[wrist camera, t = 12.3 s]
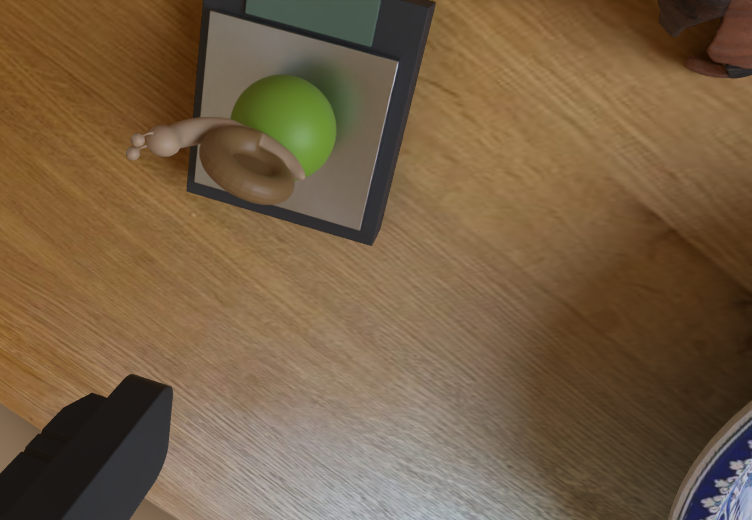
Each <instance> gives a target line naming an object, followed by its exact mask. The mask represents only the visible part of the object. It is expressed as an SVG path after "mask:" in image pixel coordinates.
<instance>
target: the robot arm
mask: <svg viewBox="0 0 752 520" xmlns="http://www.w3.org/2000/svg"><path fill="white" fill-rule="evenodd" d="M172 399H173V390H172V387H171V386H168V385H165V384H162V383H159V382H156V381H153V380H150V379H147V378H143V377H140V376H137V375H134V374H130V375H128V376H127V377H126V378H125V379H124V380H123V381H122V382H121V383H120V384H119V385H118V386H117V387H116V389H115V390H114V391H113V392H112V393H111V394H110V395H109V396H108V398H106V397H103V396H100V395H97V394H94V393H90V394H89V395H87V396H85V397H83V398H81V399H79V400H77V401H75V402H73V403H71V404H70V405H68V406H66V407H64V408H63V409H62V410H61V411H60V412H59V413H58V414H57V415H56V416H55V417H54V418H53V419H52V420H51V421H50V422H49V423H48V424H47V425H46V426H45V427H44V428H43V430H42V433H41V434H38V435H37V436H36V437H35V438H34V439H33V440H32V441H31V442H30V443H29V444H28V445H27V446H26V448H25V450H24V452H21V453H19V455H18V456H17V457H16V458H15V459H14V460H13V461H12V462H11V463H10V464H9V465H8V466H7V467H6V468H5V469H4V470H3V471H2V472H1V473H0V520H129V519H130V518H131V516H132V515H133V514H134V512H135V511H136V509H137V508H138V506H139V505H140V503H141V502H142V500H143V499H144V497H145V496H146V494H147V493H148V491H149V490H150V488H151V487H152V485H153V484H154V482H155V481H156V479H157V477H158V475H159V473H160V471H161V469H162V466H163V464H164V461H165V458H166V455H167V450H168V443H169V432H170V421H171V410H172Z"/></svg>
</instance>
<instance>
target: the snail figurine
mask: <svg viewBox="0 0 752 520" xmlns="http://www.w3.org/2000/svg"><path fill="white" fill-rule="evenodd" d="M144 136H145V138H144ZM335 139H336V120H335V116H334V112H333V110H332V107H331V105H330V103H329V101H328V100H327V98H326V97H325V96H324V94H323V93H322V92H321V91H320V90H319V89H318V88H317V87H315V86H314V85H313V84H311V83H310V82H308V81H306V80H304V79H302V78H299V77H296V76H291V75H272V76H268V77H265V78H262V79H260V80H258V81H256V82H254V83H253V84H251V85H250V86H249V87H247V88H246V89H245V90H244V91H243V92H242V94H241V95H240V96H239V98H238V99H237V101H236V103H235V105H234V107H233V110H232V113H231V118H230V119H227V118H222V117H198V118H191V119H186V120H182V121H178V122H176V123H173V124H171V125H157V126H155V127H153V128H151V129H149V130H148V131H147V133H146V134H144V135H142V134H140V133H135V134H134V135H133V136H132V138H131V143H132V144H133V145H134V146H136V147H140V146H142V145H143V144H144V142H145V141H146V145H144V146H142V147H140V148H138V149H137V148H136V147H130V148H129V149H128V150H127V152H126V156H127V158H128V159H130V160H136V159H138V158H139V156H140V152H139V150H140V149H142V148H145V147H148V148H149V150H150V151H151V152H153V153H154V154H156V155H158V156H162V157H168V156H172V155H174V154H176V153H177V152H178V151H179V149H180V148H185V147H190V146H195V145H198V144H200V148H199V157H200V160H201V163H202V166H203V168H204V170H205V171H206V173H207V174H208V175H209V177H210V178H211V179H212V180H213V181H214V182H215V183H217V184H218V185H219V186H220V187H221V188H223V189H224V190H226V191H227V192H229V193H230V194H232V195H234V196H236V197H238V198H240V199H243V200H245V201H248V202H252V203H256V204H262V205H274V204H279V203H281V202H284V201H286V200H287V199H288V198H289V197H290V196H291V195H292V193H293V190H294V187H295V182H294V181H298V180H304V179H305V178H306V177H308V176H310V175H312V174H313V173H315V172H316V171H317V170H318V169H320V168H321V167H322V166H323V164H324V163H325V162H326V161H327V159H328V158H329V156H330V154H331V152H332V150H333V147H334V144H335Z"/></svg>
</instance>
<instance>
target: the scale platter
mask: <svg viewBox="0 0 752 520" xmlns="http://www.w3.org/2000/svg"><path fill="white" fill-rule="evenodd" d="M400 63H401V59H399V58H396V57H392V56H388V55H385V54H381V53H377V52H373V51H370V50H366V49H362V48H359V47H355V46H351V45H348V44H344V43H340V42H337V41H333V40H329V39H326V38H322V37H318V36H314V35H311V34H307V33H303V32H300V31H296V30H292V29H289V28H285V27H281V26H278V25H274V24H270V23H267V22H263V21H259V20H255V19H252V18H248V17H244V16H241V15H237V14H233V13H230V12H226V11H222V10H219V9H214V10H211V11H210V18H209V29H208V39H207V50H206V61H205V72H204V83H203V93H202V104H201V115H200V117H222V118H227V119H230V118H231V113H232V110H233V107H234V105H235V103H236V101H237V99H238V98H239V96H240V95H241V94H242V92H243V91H244V90H245V89H246V88H247V87H249V86H250V85H251V84H253V83H254V82H256V81H258V80H260V79H262V78H265V77H268V76H272V75H291V76H296V77H299V78H302V79H304V80H306V81H308V82H310V83H311V84H313V85H314V86H315V87H317V88H318V89H319V90H320V91H321V92H322V93H323V94H324V96H325V97H326V98H327V100H328V101H329V103H330V105H331V107H332V110H333V112H334V116H335V120H336V139H335V144H334V147H333V150H332V152H331V154H330V156H329V158H328V159H327V161H326V162H325V163H324V164H323V166H322V167H321V168H320V169H318V170H317V171H316V172H315V173H313V174H312V175H310V176H308V177H306V178H305V179H304V180H298V181H294V182H295V187H294V190H293V193H292V195H291V196H290V197H289V198H288V199H287V200H286V201H284V202H281V203H279V204H274V206H278V207H281V208H284V209H288V210H291V211H295V212H298V213H301V214H305V215H308V216H312V217H315V218H319V219H322V220H325V221H329V222H332V223H336V224H339V225H342V226H346V227H349V228H353V229H356V230H361V228H362V226H363V223H364V219H365V214H366V210H367V206H368V201H369V197H370V193H371V188H372V184H373V180H374V175H375V171H376V167H377V163H378V158H379V154H380V150H381V145H382V141H383V137H384V132H385V128H386V124H387V119H388V115H389V111H390V106H391V102H392V98H393V93H394V89H395V85H396V80H397V76H398V72H399V67H400ZM199 148H200V144H198V147H197V158H196V169H195V180H194V182H196V183H199V184H203V185H206V186H210V187H213V188H216V189H220V190H223V191H226V190H224V189H223V188H221V187H220V186H219V185H218V184H217V183H215V182H214V181H213V180H212V179H211V178H210V177H209V175H208V174H207V173H206V171H205V170H204V168H203V166H202V163H201V160H200V157H199Z"/></svg>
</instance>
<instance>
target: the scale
mask: <svg viewBox="0 0 752 520" xmlns="http://www.w3.org/2000/svg"><path fill="white" fill-rule="evenodd" d="M435 4H436V2H433V1H429V0H203V8H202V20H201V31H200V43H199V54H198V66H197V77H196V89H195V100H194V112H193V118H198V117H200V115H201V104H202V93H203V83H204V72H205V61H206V50H207V39H208V29H209V18H210V11H211V10H214V9H219V10H222V11H226V12H230V13H233V14H237V15H241V16H244V17H248V18H252V19H255V20H259V21H263V22H267V23H270V24H274V25H278V26H281V27H285V28H289V29H292V30H296V31H300V32H303V33H307V34H311V35H314V36H318V37H322V38H326V39H329V40H333V41H337V42H340V43H344V44H348V45H351V46H355V47H359V48H362V49H366V50H370V51H373V52H377V53H381V54H385V55H388V56H392V57H396V58H399V59H401V63H400V67H399V72H398V76H397V80H396V85H395V89H394V93H393V98H392V102H391V106H390V111H389V115H388V119H387V124H386V128H385V132H384V137H383V141H382V145H381V150H380V154H379V158H378V163H377V167H376V171H375V175H374V180H373V184H372V188H371V193H370V197H369V201H368V206H367V210H366V214H365V219H364V223H363V226H362V228H361V230H356V229H353V228H349V227H346V226H342V225H339V224H336V223H332V222H329V221H325V220H322V219H319V218H315V217H312V216H308V215H305V214H301V213H298V212H295V211H291V210H288V209H284V208H281V207H278V206H274V205H262V204H256V203H252V202H248V201H245V200H243V199H240V198H238V197H236V196H234V195H232V194H230V193H229V192H227V191H223V190H220V189H216V188H213V187H210V186H206V185H203V184H199V183H196V182H194V180H195V169H196V158H197V147H198V145H195V146H190V158H189V169H188V180H187V192H190V193H194V194H197V195H201V196H204V197H207V198H211V199H214V200H218V201H221V202H224V203H228V204H231V205H234V206H238V207H241V208H245V209H248V210H251V211H255V212H258V213H262V214H265V215H268V216H272V217H275V218H279V219H282V220H285V221H289V222H292V223H295V224H299V225H302V226H306V227H309V228H312V229H316V230H319V231H323V232H326V233H329V234H333V235H336V236H339V237H343V238H346V239H350V240H353V241H356V242H360V243H363V244H367V245H370V246H372V245H373V243H374V241H375V239H376V237H377V235H378V233H379V231H380V228H381V224H382V220H383V216H384V211H385V207H386V203H387V199H388V195H389V191H390V187H391V183H392V179H393V175H394V171H395V167H396V163H397V159H398V155H399V151H400V146H401V142H402V138H403V134H404V130H405V126H406V122H407V118H408V114H409V110H410V106H411V102H412V98H413V94H414V90H415V86H416V81H417V77H418V73H419V69H420V65H421V61H422V57H423V53H424V49H425V45H426V41H427V37H428V33H429V29H430V25H431V21H432V16H433V12H434V8H435Z"/></svg>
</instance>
